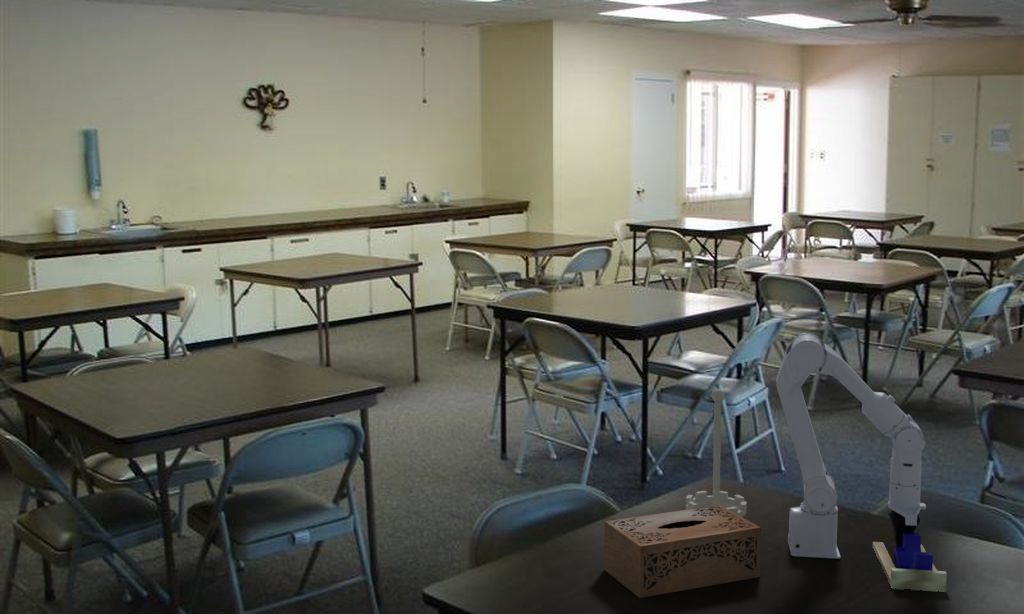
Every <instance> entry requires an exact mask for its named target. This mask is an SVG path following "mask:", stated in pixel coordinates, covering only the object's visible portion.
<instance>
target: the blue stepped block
mask: <svg viewBox="0 0 1024 614" xmlns="http://www.w3.org/2000/svg"><path fill="white" fill-rule="evenodd" d="M921 537H922V536H921V534H920V532H914V533H911V532H903V544H902V547H897V546H896V545H895V546H894V547H893V563H894V564H895V563H896V564H895V567H896V568H897V567H898V568H897V569H915V570H932V566H933V564H934V554H933V552H929V551H928V552H927V551H926V552H921V543H922V542H921V539H922V538H921Z"/></svg>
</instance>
